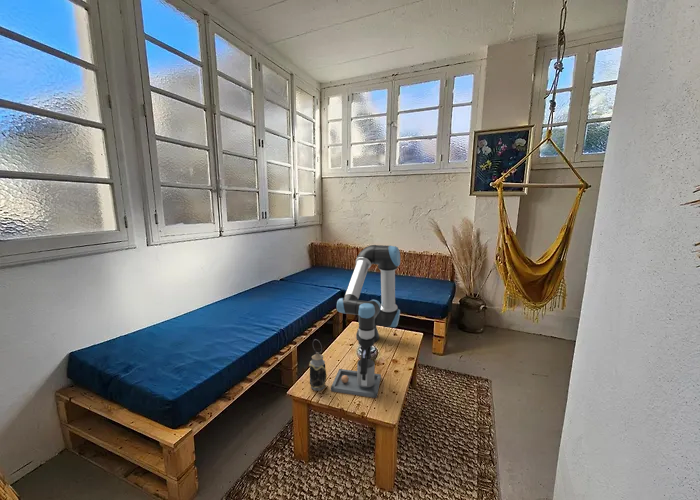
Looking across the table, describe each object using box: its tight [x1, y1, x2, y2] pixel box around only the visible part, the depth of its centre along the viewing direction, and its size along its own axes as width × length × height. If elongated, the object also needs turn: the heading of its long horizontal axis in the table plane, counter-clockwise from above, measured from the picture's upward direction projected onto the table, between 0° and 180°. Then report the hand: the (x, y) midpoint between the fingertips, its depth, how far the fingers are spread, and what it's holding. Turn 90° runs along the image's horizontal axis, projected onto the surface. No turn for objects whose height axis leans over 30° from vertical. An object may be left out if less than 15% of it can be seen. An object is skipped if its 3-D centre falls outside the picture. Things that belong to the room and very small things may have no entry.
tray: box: [330, 368, 382, 399], centre depth 141 cm, size 16×22×2 cm
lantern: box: [308, 338, 327, 392], centre depth 137 cm, size 9×8×25 cm
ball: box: [341, 375, 349, 383], centre depth 142 cm, size 4×4×4 cm
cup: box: [356, 358, 376, 387], centre depth 139 cm, size 8×8×10 cm
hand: (365, 379), depth 140 cm, fingers closed on cup, 8 cm apart
